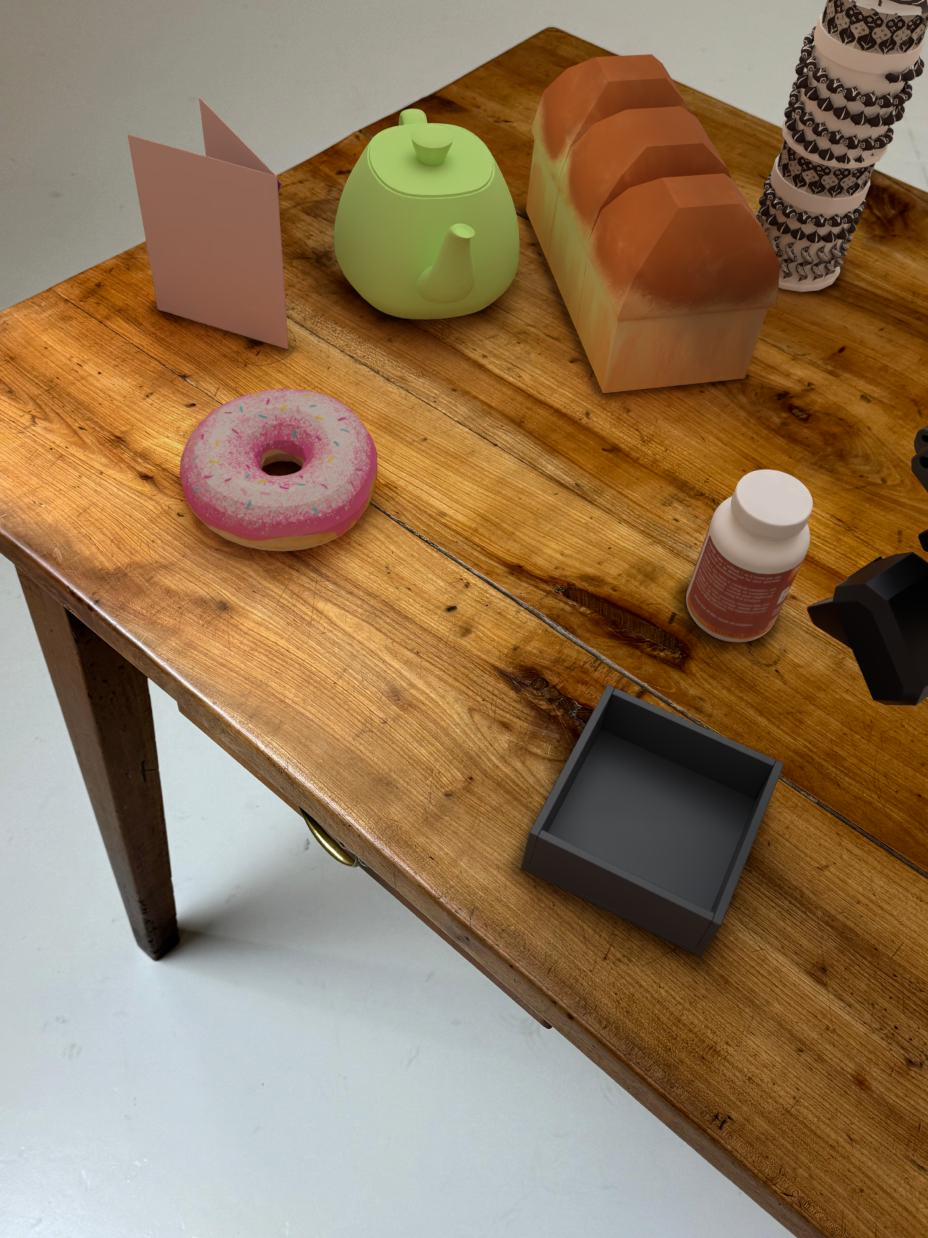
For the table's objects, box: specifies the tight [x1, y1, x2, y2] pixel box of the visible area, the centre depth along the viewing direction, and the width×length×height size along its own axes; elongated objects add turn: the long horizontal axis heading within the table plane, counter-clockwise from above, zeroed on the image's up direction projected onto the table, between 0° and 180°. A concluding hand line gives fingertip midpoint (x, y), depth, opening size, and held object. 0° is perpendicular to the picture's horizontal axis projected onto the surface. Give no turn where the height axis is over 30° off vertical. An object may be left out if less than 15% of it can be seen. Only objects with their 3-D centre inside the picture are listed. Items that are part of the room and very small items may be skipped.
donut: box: [179, 388, 378, 552], centre depth 81 cm, size 14×13×5 cm
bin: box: [520, 684, 785, 958], centre depth 67 cm, size 11×11×4 cm
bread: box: [525, 53, 780, 394], centre depth 93 cm, size 25×12×15 cm, turn 13°
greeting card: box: [127, 96, 289, 350], centre depth 87 cm, size 11×7×15 cm, turn 35°
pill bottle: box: [685, 469, 814, 643], centre depth 75 cm, size 6×6×11 cm
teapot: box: [333, 108, 521, 320], centre depth 92 cm, size 22×15×13 cm
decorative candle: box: [754, 0, 928, 293], centre depth 93 cm, size 9×9×25 cm
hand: (868, 577), depth 65 cm, fingers open, 9 cm apart
